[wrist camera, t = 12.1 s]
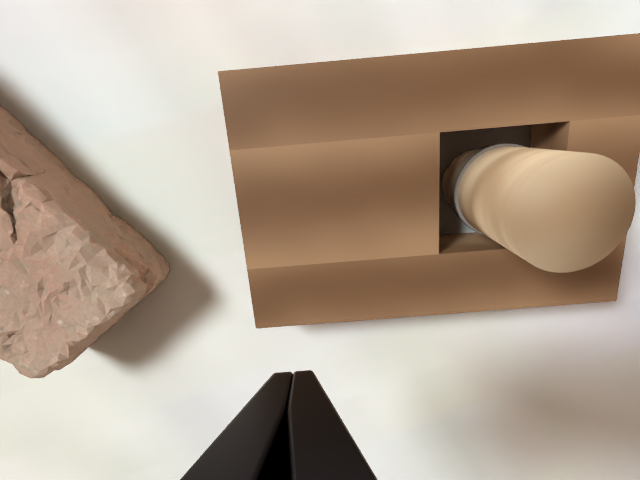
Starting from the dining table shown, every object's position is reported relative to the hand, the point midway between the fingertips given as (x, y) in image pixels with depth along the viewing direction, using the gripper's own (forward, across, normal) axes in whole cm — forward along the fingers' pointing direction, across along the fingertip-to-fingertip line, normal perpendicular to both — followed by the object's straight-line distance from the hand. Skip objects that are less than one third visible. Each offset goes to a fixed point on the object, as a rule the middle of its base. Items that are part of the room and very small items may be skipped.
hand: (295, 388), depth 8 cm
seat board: (+13, -6, -2) cm, 14 cm away
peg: (+13, -9, -2) cm, 16 cm away
